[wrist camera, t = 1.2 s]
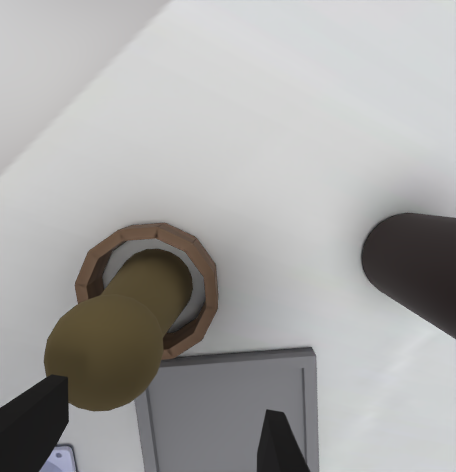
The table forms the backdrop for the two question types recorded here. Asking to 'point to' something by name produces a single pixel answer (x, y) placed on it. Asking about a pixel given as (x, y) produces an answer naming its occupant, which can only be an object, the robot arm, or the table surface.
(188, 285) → the pepper mill
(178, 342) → the ring
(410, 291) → the vinegar
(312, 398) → the tray
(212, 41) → the table surface
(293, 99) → the table surface
